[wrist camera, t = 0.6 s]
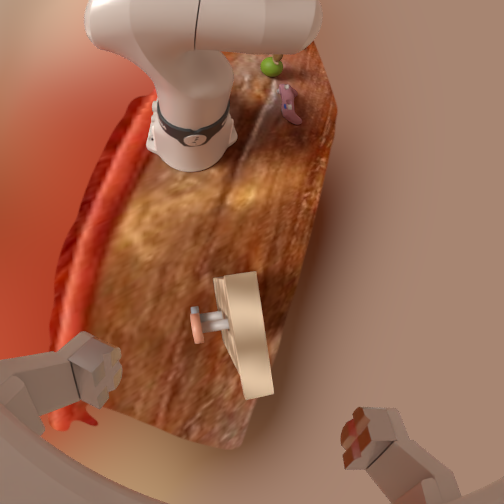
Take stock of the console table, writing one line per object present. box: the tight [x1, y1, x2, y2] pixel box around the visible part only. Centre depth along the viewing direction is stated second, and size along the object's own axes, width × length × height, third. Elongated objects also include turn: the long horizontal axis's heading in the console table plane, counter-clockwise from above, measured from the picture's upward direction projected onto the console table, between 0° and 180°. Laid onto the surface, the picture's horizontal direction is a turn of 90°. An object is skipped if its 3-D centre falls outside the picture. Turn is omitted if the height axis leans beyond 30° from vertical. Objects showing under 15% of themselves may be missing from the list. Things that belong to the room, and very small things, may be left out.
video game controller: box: [277, 84, 302, 125], centre depth 54 cm, size 10×5×7 cm, turn 3°
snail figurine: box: [261, 54, 283, 77], centre depth 51 cm, size 5×6×12 cm
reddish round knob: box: [190, 313, 264, 344], centre depth 35 cm, size 4×9×4 cm, turn 99°
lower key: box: [191, 306, 223, 322], centre depth 43 cm, size 4×9×4 cm, turn 99°
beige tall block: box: [213, 271, 274, 400], centre depth 38 cm, size 13×6×25 cm, turn 9°
